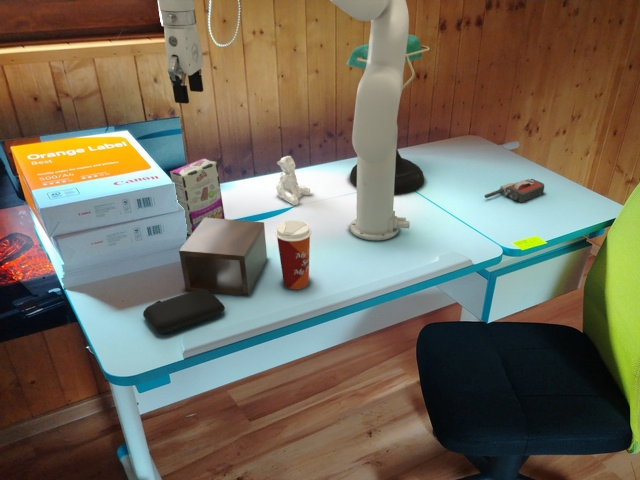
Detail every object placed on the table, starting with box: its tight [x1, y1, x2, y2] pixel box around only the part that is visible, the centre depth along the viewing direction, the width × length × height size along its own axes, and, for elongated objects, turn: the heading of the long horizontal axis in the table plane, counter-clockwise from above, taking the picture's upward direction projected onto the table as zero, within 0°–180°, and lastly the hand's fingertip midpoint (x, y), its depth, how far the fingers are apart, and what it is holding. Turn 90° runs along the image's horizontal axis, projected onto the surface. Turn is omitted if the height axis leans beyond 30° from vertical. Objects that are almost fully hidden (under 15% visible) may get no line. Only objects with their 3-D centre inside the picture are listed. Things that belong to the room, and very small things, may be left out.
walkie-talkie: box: [484, 178, 545, 203], centre depth 186 cm, size 9×4×20 cm
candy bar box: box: [169, 157, 226, 236], centre depth 157 cm, size 11×5×16 cm, turn 148°
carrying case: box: [142, 289, 226, 336], centre depth 129 cm, size 11×3×15 cm
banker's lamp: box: [346, 34, 430, 196], centre depth 181 cm, size 26×23×40 cm
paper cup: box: [274, 220, 312, 290], centre depth 138 cm, size 8×8×14 cm
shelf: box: [178, 218, 268, 297], centre depth 140 cm, size 14×16×10 cm
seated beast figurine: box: [275, 155, 311, 206], centre depth 175 cm, size 10×9×12 cm
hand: (189, 96), depth 149 cm, fingers open, 9 cm apart
